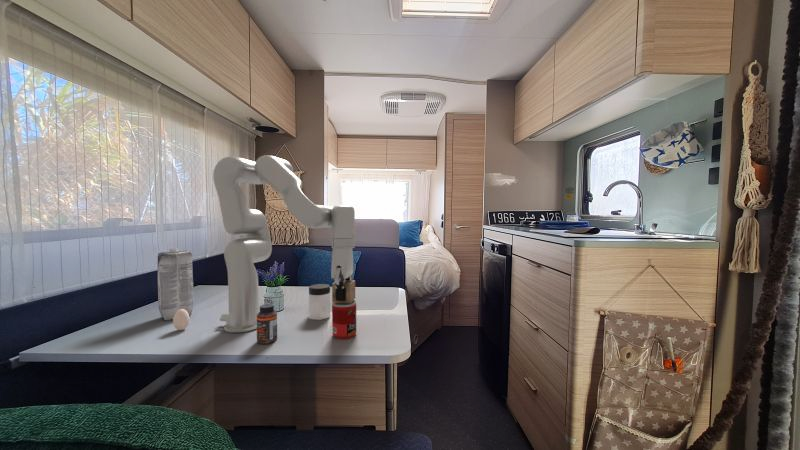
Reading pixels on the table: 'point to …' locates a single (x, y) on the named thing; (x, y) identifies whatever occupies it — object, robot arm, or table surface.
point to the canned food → (344, 320)
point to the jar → (319, 301)
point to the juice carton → (175, 282)
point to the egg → (181, 319)
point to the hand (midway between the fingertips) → (343, 297)
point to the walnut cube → (349, 292)
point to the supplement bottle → (266, 324)
